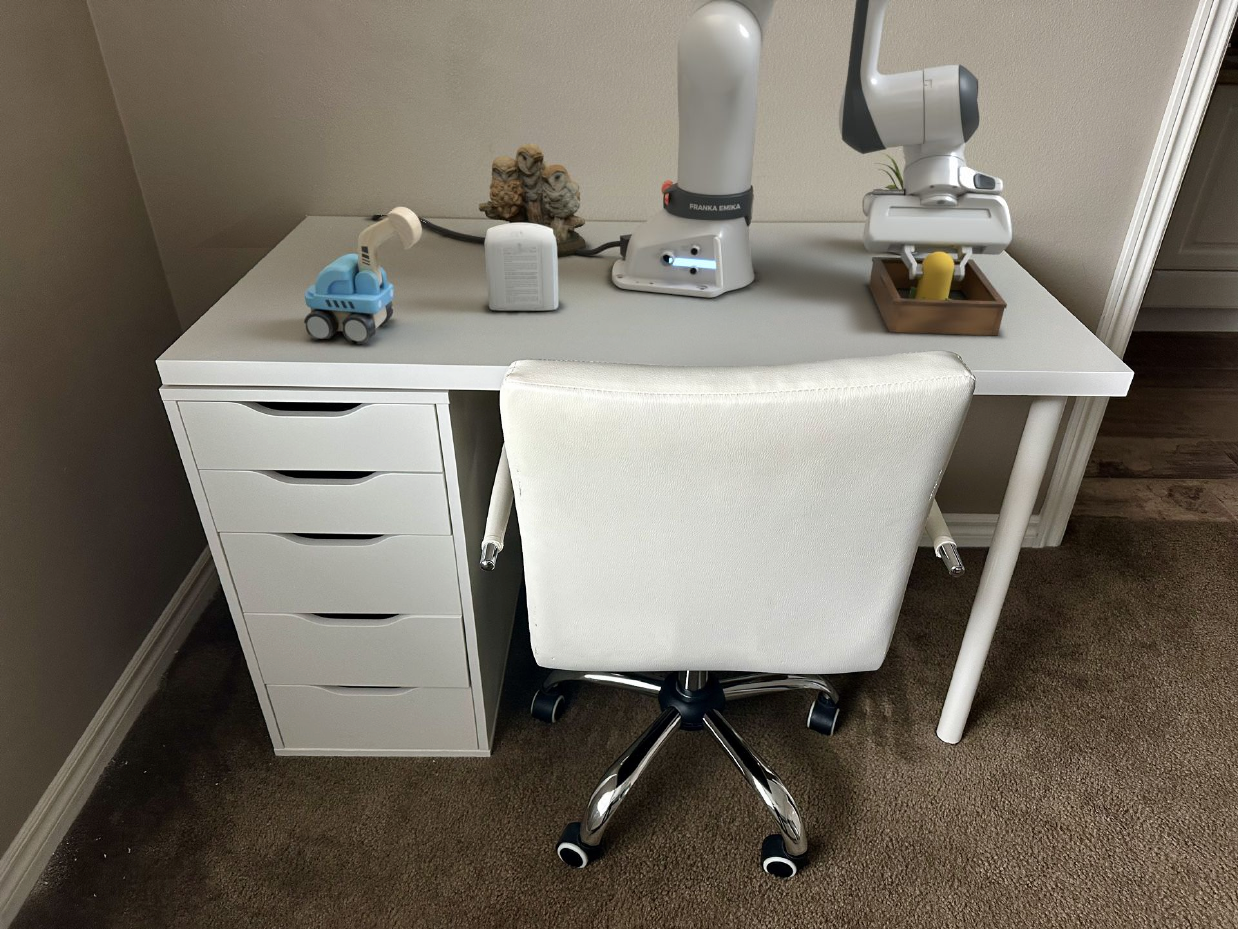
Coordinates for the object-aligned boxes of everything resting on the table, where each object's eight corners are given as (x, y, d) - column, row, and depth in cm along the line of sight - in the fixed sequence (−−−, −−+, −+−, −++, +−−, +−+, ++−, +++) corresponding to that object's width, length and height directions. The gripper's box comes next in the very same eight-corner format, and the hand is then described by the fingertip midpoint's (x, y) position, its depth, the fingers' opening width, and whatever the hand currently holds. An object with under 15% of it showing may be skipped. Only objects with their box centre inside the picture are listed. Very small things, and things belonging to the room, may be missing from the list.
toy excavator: (418, 349, 116) (400, 221, 107) (301, 340, 118) (274, 214, 109) (440, 324, 123) (426, 201, 114) (329, 316, 125) (306, 195, 116)
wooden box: (888, 332, 120) (893, 301, 118) (867, 285, 136) (872, 256, 133) (999, 336, 119) (1007, 304, 117) (966, 288, 134) (972, 259, 132)
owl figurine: (476, 257, 147) (467, 152, 137) (488, 235, 156) (479, 135, 147) (583, 259, 146) (581, 153, 137) (588, 236, 156) (586, 136, 147)
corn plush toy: (914, 315, 125) (925, 258, 121) (907, 301, 130) (918, 245, 125) (951, 316, 125) (964, 259, 121) (943, 303, 129) (955, 246, 125)
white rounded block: (559, 301, 130) (556, 218, 124) (559, 312, 127) (555, 227, 120) (490, 302, 130) (483, 219, 123) (487, 313, 126) (480, 228, 120)
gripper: (867, 177, 125) (867, 266, 122) (1014, 180, 124) (1018, 270, 121) (858, 199, 131) (858, 285, 128) (998, 203, 130) (1001, 289, 127)
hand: (937, 278), depth 124 cm, fingers closed on corn plush toy, 4 cm apart
